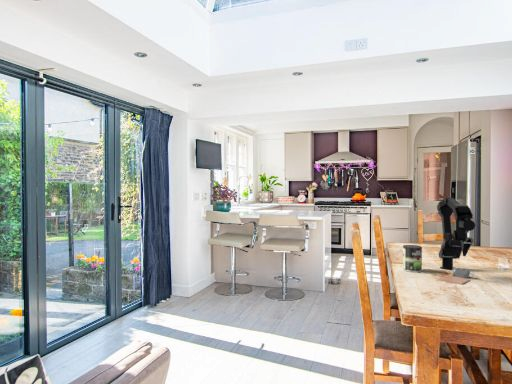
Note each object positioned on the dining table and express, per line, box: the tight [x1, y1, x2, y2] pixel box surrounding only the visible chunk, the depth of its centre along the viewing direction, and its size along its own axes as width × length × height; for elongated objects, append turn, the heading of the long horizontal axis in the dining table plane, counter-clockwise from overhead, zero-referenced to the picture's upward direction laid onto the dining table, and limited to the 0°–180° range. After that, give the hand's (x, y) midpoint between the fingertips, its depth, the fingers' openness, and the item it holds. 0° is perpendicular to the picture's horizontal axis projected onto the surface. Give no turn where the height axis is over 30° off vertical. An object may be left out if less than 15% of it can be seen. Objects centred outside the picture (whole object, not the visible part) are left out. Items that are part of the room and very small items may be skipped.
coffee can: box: [402, 244, 423, 273], centre depth 214 cm, size 10×10×14 cm
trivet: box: [436, 274, 471, 285], centre depth 191 cm, size 12×12×1 cm
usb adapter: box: [452, 267, 475, 279], centre depth 198 cm, size 10×4×4 cm, turn 42°
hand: (461, 257), depth 198 cm, fingers open, 9 cm apart
